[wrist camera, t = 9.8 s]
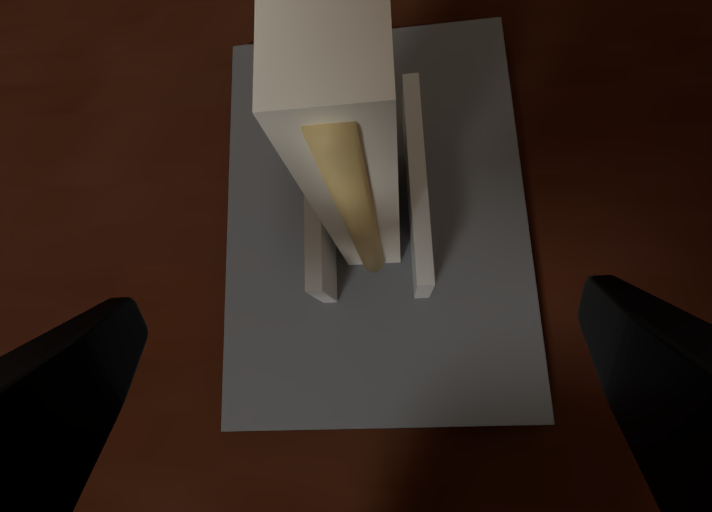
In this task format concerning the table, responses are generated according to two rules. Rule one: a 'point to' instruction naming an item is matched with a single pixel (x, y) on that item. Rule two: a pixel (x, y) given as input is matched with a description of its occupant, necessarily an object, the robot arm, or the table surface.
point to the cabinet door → (334, 115)
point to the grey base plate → (391, 264)
